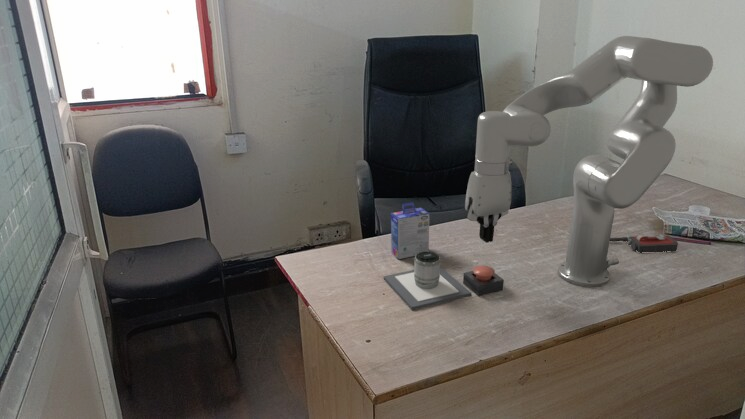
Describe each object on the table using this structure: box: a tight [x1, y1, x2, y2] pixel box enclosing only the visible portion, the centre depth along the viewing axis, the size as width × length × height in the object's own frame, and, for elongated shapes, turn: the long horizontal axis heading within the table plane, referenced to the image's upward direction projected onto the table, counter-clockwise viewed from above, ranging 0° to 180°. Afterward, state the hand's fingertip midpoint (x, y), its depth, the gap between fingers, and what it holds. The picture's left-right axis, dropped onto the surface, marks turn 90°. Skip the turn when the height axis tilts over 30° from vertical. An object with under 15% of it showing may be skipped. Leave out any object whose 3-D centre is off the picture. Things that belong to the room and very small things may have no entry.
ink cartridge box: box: [390, 202, 430, 260], centre depth 149 cm, size 10×6×14 cm, turn 113°
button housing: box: [462, 270, 505, 297], centre depth 133 cm, size 7×7×3 cm
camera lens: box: [413, 251, 441, 289], centre depth 132 cm, size 6×6×8 cm
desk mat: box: [383, 265, 472, 311], centre depth 133 cm, size 16×16×1 cm
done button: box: [472, 265, 496, 282], centre depth 132 cm, size 5×5×3 cm
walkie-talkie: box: [610, 232, 679, 254], centre depth 153 cm, size 9×4×20 cm
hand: (486, 239), depth 129 cm, fingers closed
